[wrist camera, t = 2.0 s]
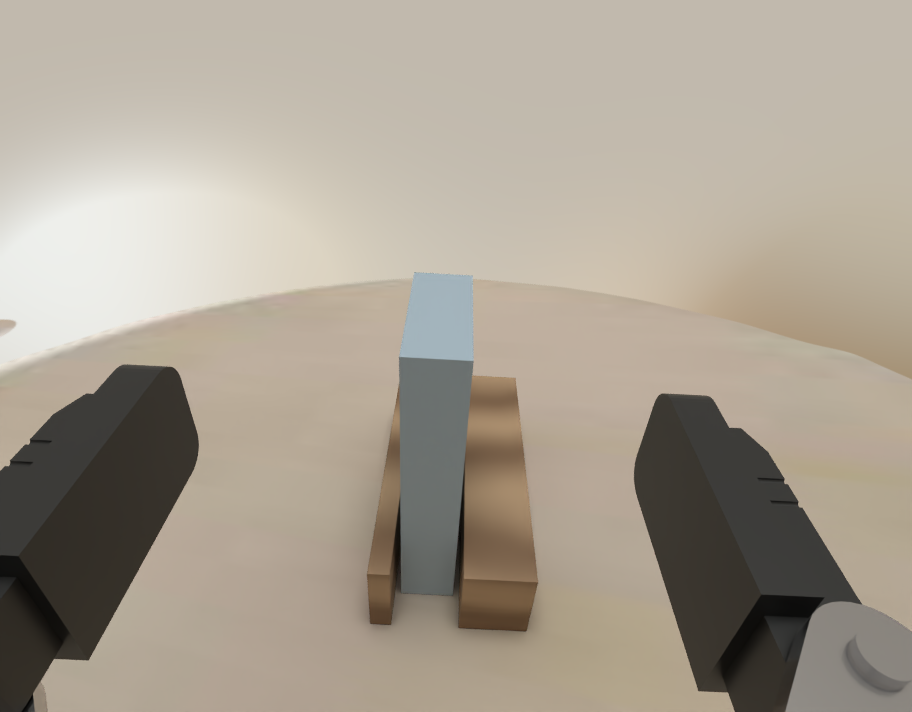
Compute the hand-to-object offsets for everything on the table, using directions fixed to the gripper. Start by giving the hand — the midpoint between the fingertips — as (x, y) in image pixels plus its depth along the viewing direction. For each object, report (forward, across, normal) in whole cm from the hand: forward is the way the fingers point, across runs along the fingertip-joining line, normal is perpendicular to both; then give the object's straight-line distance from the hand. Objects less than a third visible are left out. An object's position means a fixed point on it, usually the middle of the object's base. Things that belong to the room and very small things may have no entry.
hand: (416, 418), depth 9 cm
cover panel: (+16, 0, +25) cm, 30 cm away
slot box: (+19, -1, +25) cm, 32 cm away
